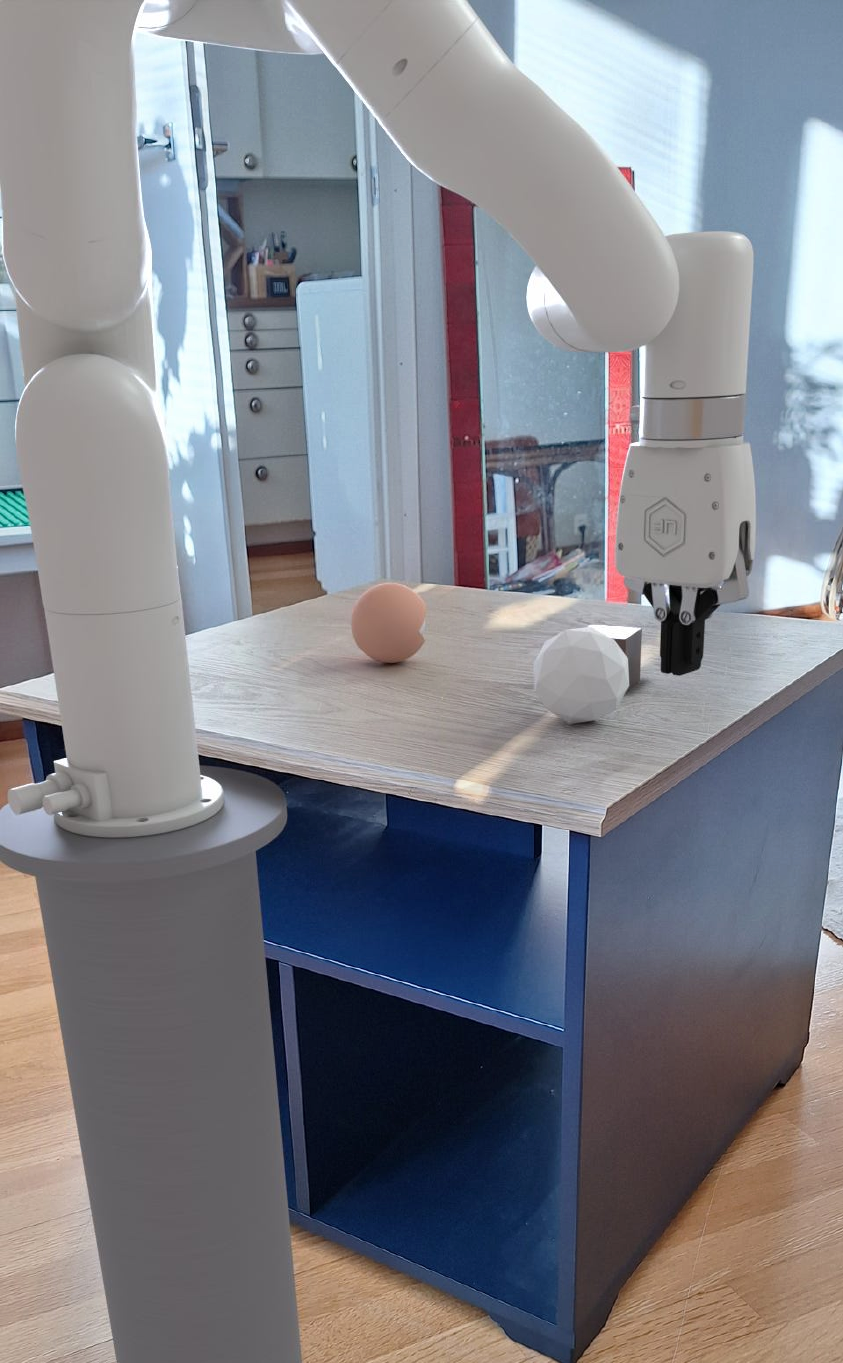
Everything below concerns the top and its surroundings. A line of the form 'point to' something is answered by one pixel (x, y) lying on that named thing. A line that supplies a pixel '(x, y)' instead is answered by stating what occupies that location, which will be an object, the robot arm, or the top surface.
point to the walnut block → (627, 647)
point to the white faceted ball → (581, 675)
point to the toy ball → (389, 622)
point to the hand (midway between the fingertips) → (680, 670)
